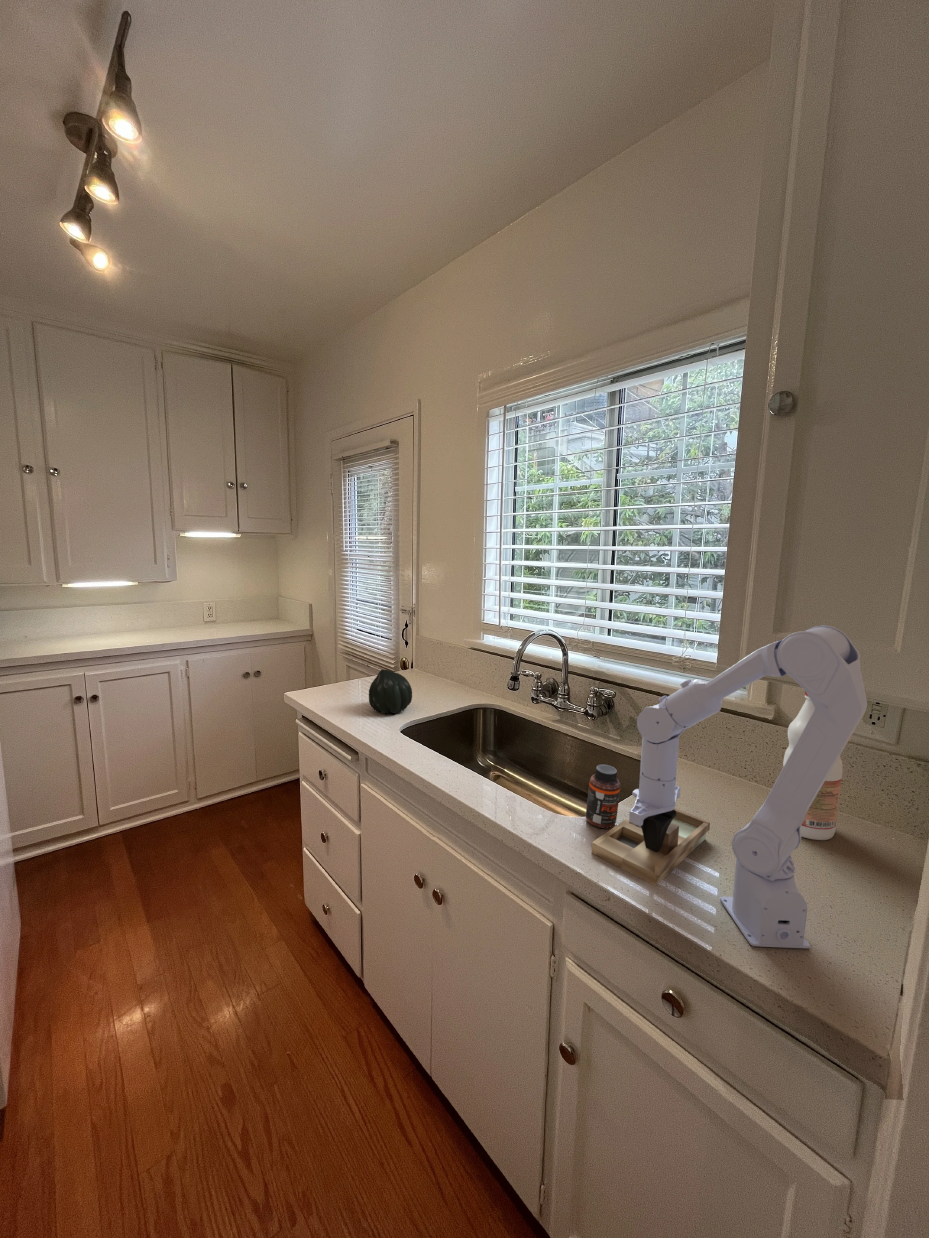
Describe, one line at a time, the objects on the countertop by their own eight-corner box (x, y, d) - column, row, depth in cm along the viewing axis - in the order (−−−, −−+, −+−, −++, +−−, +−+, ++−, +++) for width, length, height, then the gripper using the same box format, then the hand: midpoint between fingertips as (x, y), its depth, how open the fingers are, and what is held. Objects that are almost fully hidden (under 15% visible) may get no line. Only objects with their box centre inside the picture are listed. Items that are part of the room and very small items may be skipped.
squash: (427, 694, 167) (403, 658, 171) (399, 707, 155) (373, 668, 158) (403, 715, 174) (381, 680, 178) (374, 729, 162) (351, 691, 165)
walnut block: (667, 856, 85) (669, 834, 84) (645, 845, 88) (646, 824, 87) (677, 846, 88) (679, 825, 87) (655, 837, 91) (657, 816, 90)
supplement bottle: (601, 833, 95) (607, 779, 93) (579, 817, 100) (584, 765, 98) (622, 824, 99) (628, 772, 96) (599, 809, 103) (605, 759, 101)
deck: (658, 887, 80) (659, 866, 79) (589, 851, 89) (590, 832, 89) (708, 839, 94) (710, 821, 93) (643, 812, 103) (644, 796, 103)
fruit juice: (768, 823, 99) (782, 688, 96) (790, 811, 105) (804, 682, 101) (821, 847, 92) (839, 700, 88) (843, 832, 97) (860, 693, 93)
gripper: (655, 754, 91) (650, 823, 93) (614, 778, 82) (609, 855, 83) (694, 767, 86) (688, 839, 88) (655, 794, 76) (649, 875, 78)
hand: (652, 848), depth 85 cm, fingers closed
